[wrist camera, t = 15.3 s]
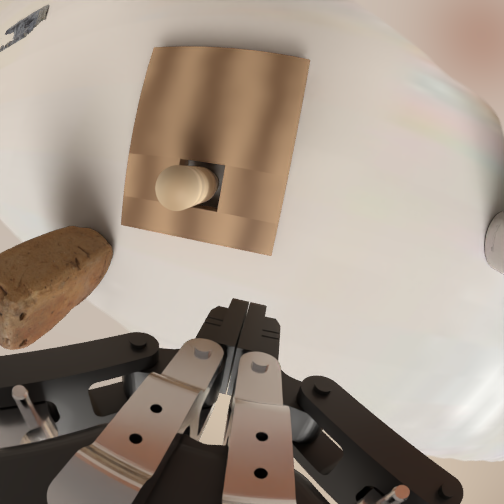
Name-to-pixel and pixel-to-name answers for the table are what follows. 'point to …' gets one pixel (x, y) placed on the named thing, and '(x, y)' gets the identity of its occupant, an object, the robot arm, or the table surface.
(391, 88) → the table surface
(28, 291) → the block
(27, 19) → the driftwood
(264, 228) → the board
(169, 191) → the peg
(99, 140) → the table surface
